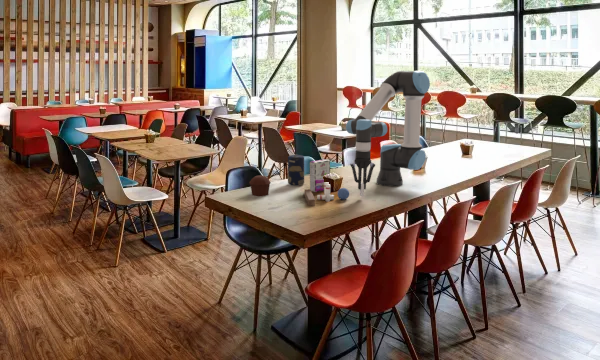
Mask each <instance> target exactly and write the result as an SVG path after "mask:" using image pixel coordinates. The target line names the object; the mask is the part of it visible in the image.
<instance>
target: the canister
mask: <svg viewBox="0 0 600 360" xmlns="http://www.w3.org/2000/svg"><path fill="white" fill-rule="evenodd" d="M287 183H288V185H290V186H296V187H297V186H303V185H304V184H305V156H304V155H302V154H298V153H295V154H291V155H289V156H287Z"/></svg>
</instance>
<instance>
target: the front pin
mask: <svg viewBox="0 0 600 360" xmlns="http://www.w3.org/2000/svg"><path fill="white" fill-rule="evenodd" d="M316 199H317V200H318V201H321V200H322V201H324V200H325V195H324V194H317V195H316ZM331 200H332V201H333V200H335V194H330V201H331Z"/></svg>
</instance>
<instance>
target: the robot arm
mask: <svg viewBox="0 0 600 360" xmlns="http://www.w3.org/2000/svg"><path fill="white" fill-rule="evenodd" d="M430 87H431V84H430V77H429V76H428V74H427V73H426V72H425V71H422V70H399V71H398V70H397V71H396V72H394V73H392V74H391V75H389V76H388V77H387V78H385V79H384V81H383V82H382V83H381V84H380V85H379V89H378V91H377V92H376V93H375V94H374V96H373V97H372V98H371V99H370V100H369V102H368V103H367V104H366V105H365V106H364V108H363V109H362V110H361V111H360V113H359V114H358V115H357V116H356V117H355V119H350V120H348V121H347V122H346V125H345V129H346V132H347V133H348V134H350V135H353V136H354V135H355V138H356V139H355V159H354V161H353V162H352V163H350V164H349V166H350V167H351V170H352V175H353V178H354V182H355V183H357V188H358V189H357V190H359V196H360V197H364V196H365V195H364V194H365V190H366V189H367V184H368V183H370V181H371V178H372V175H373V171H374V168H375V167H376V164H375V162H372V160H371V153H372V152H371V149H372V148H371V147H372V138H377V137H379V138H380V137H383V136H385V135H386V134H387V133H388V125H387V124H386V123H385V121H373V120H374V119H375V117H376V116H377V115H378V114H379V112H380V111H381V110H382V108H383V107H384V106H385V105H386V104H387V102H388V101H389V100H390V99H391V98H393V97H394V96H396V94H398V93H402V97H403V98H404V99H405V101H404V103H405V106H404V126H403V142H402V143H393V144H392V143H391V144H389V143H388V144H383V145H381V148H380V152H379V153H380V155H379V156H380V157H379V158H380V159H379V160H380V161H379V172H378V175H377V177H376V184H377V183H378V184H377V185H379V184H381V185H380V186H384V185H399V186H402V185H403V181H404V180H403V175H402V172H401V168H402V169H406V170H410V171H417V170H418V171H419V170H421V168H422V167H423V165H424V164H425V161H426V157H427V156H426V152H425V150H423V148H422V147H423V145H422V144H421V143H420V136H421V135H420V134H421V119H422V118H421V114H422V100H423V99H424V97H425V94H426V93H428V92H429V89H430ZM356 166H357V168H358V169H357V170H358V174H357V172H356V171H357V170H356ZM368 168H369V169H368ZM362 171H363V172H362ZM367 171H368V172H367ZM401 184H402V185H401Z"/></svg>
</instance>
